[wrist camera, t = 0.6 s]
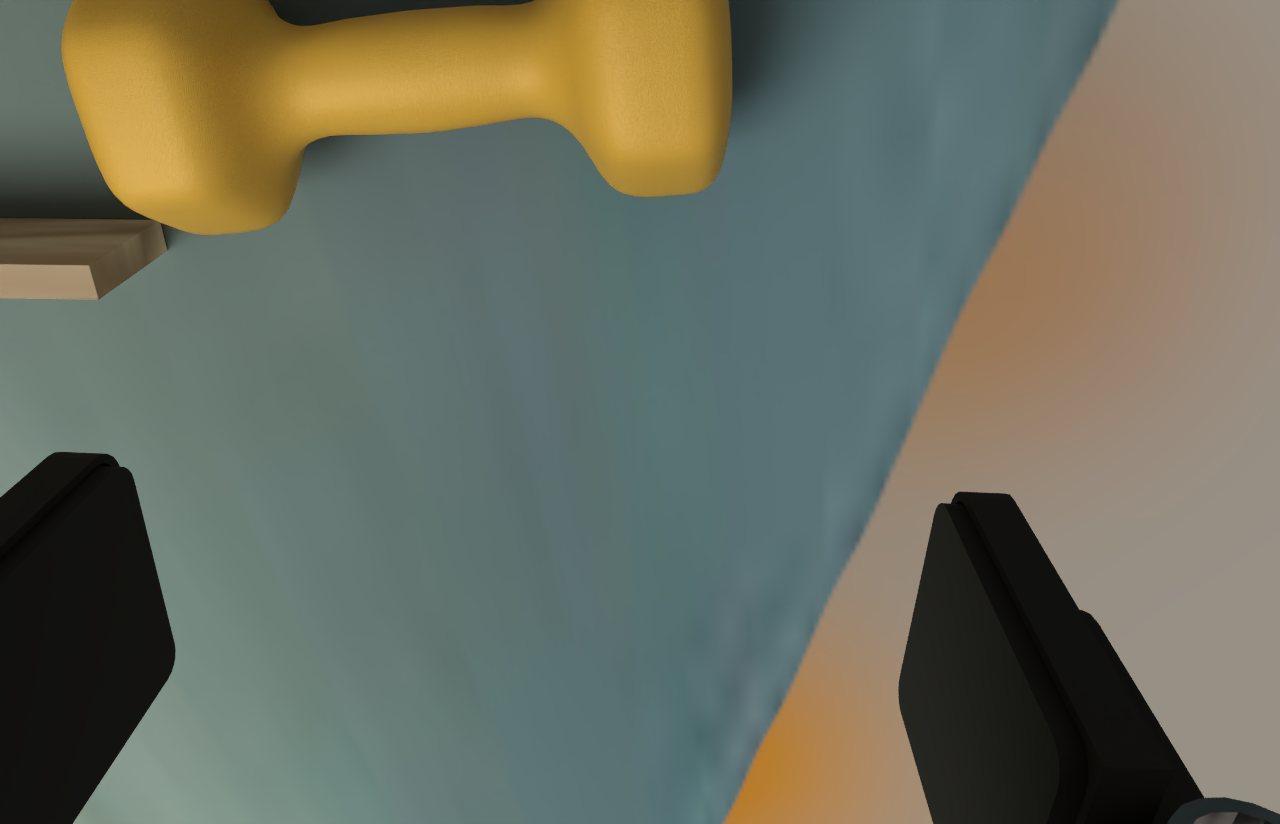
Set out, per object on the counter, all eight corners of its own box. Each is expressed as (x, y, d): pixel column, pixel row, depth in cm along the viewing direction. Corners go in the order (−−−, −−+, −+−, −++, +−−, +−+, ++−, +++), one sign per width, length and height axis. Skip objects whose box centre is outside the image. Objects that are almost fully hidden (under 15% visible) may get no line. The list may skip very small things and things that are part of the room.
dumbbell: (220, 202, 36) (107, 279, 28) (140, -68, 31) (-18, -58, 24) (728, 163, 34) (744, 233, 27) (717, -123, 30) (733, -129, 23)
